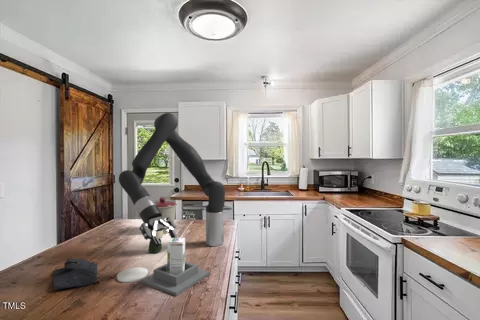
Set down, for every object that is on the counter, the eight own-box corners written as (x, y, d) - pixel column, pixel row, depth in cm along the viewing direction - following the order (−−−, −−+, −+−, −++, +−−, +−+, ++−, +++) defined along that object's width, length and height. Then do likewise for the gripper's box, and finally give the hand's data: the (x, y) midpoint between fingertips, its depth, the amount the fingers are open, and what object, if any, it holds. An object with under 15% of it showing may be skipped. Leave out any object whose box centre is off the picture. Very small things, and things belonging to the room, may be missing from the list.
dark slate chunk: (44, 297, 82) (44, 282, 82) (54, 271, 101) (54, 259, 101) (98, 285, 90) (98, 272, 90) (97, 263, 109) (97, 252, 109)
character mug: (166, 247, 127) (166, 222, 127) (167, 252, 120) (167, 225, 120) (143, 250, 123) (143, 224, 123) (143, 255, 116) (143, 227, 116)
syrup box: (169, 275, 97) (169, 237, 97) (185, 274, 97) (185, 237, 97) (166, 282, 91) (166, 242, 91) (183, 281, 91) (183, 242, 91)
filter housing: (176, 264, 106) (176, 255, 106) (210, 274, 97) (210, 264, 97) (140, 282, 91) (140, 271, 91) (176, 295, 82) (176, 283, 82)
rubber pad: (135, 267, 104) (135, 265, 104) (154, 273, 98) (154, 271, 98) (110, 278, 94) (110, 275, 94) (129, 285, 89) (129, 283, 89)
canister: (155, 226, 168) (155, 195, 168) (181, 227, 165) (181, 195, 165) (141, 234, 150) (141, 199, 150) (170, 235, 147) (170, 199, 147)
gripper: (137, 206, 95) (157, 242, 89) (165, 201, 107) (185, 232, 101) (128, 219, 97) (147, 254, 91) (157, 212, 110) (176, 243, 104)
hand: (167, 242), depth 96 cm, fingers open, 8 cm apart
